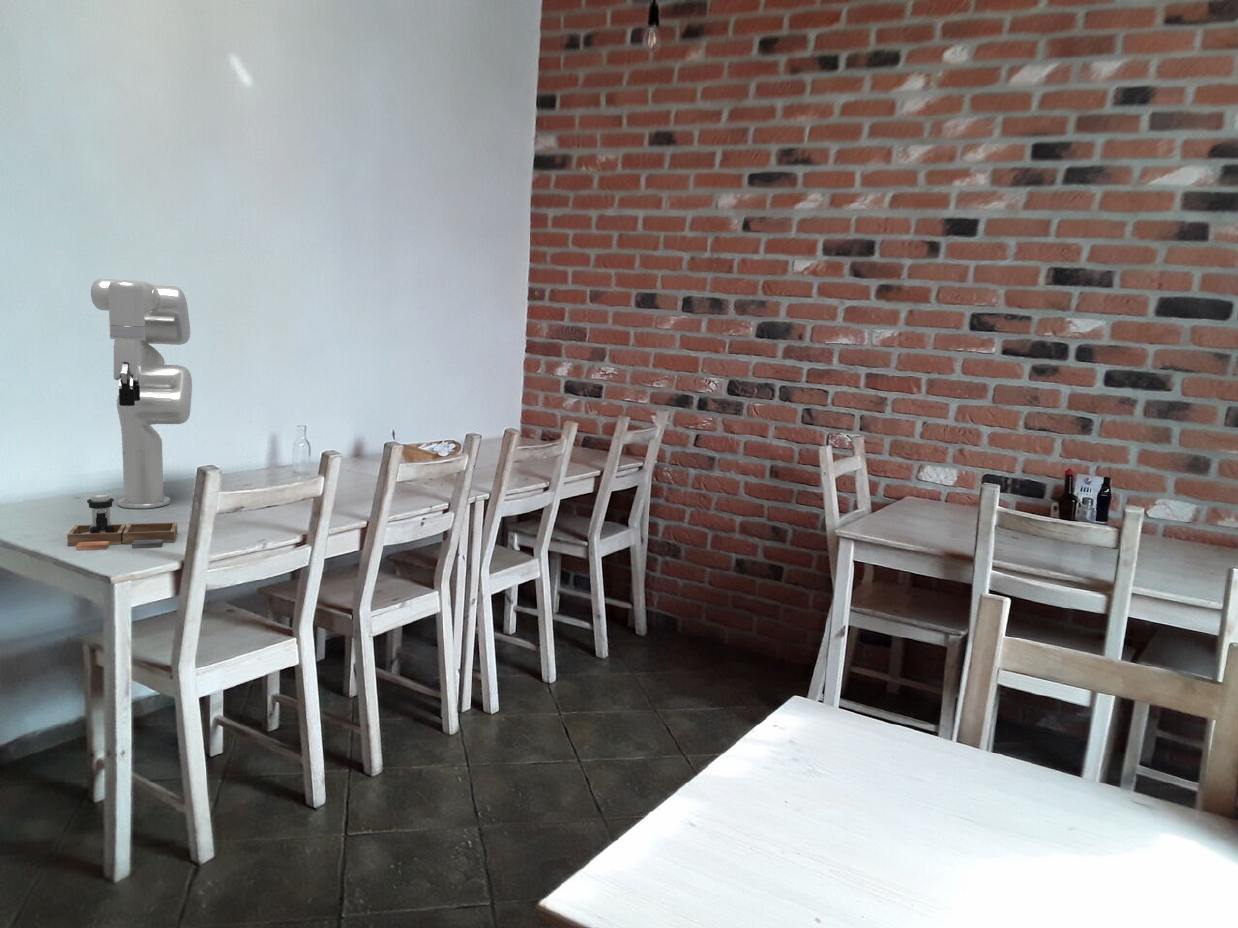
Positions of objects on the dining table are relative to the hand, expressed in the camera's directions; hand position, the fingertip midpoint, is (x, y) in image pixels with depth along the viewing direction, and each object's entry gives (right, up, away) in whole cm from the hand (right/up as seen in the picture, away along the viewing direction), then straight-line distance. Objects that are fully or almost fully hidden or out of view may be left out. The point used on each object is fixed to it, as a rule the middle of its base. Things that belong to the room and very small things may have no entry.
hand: (130, 403), depth 215 cm
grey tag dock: (+10, -33, -9) cm, 36 cm away
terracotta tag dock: (-1, -33, -13) cm, 36 cm away
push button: (-1, -33, -12) cm, 34 cm away
